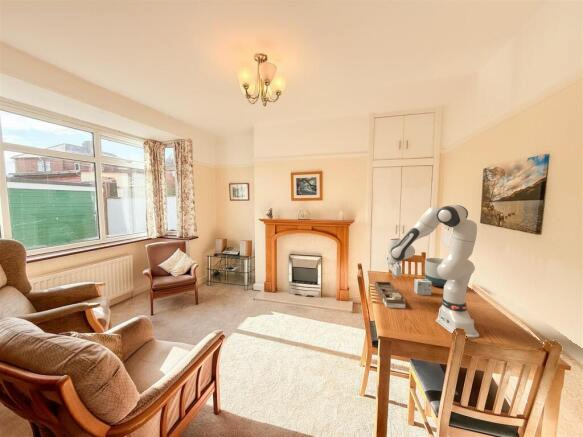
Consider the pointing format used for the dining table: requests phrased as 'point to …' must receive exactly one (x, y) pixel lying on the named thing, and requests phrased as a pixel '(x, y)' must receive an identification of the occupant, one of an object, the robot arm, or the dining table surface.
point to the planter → (433, 271)
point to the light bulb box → (422, 286)
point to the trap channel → (389, 295)
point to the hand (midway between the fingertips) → (394, 278)
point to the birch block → (396, 296)
